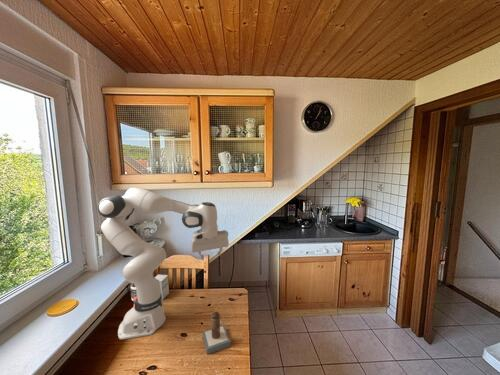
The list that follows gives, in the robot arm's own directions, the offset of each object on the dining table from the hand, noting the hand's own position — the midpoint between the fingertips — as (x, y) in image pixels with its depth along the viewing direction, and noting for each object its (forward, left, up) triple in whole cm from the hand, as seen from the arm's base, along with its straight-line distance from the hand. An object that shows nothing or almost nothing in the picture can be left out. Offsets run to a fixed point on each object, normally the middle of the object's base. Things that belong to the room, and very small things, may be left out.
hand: (210, 256), depth 119 cm
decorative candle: (-40, +33, -33) cm, 62 cm away
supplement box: (-27, +28, -33) cm, 51 cm away
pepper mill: (-3, -20, -30) cm, 36 cm away
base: (-3, -20, -33) cm, 39 cm away
